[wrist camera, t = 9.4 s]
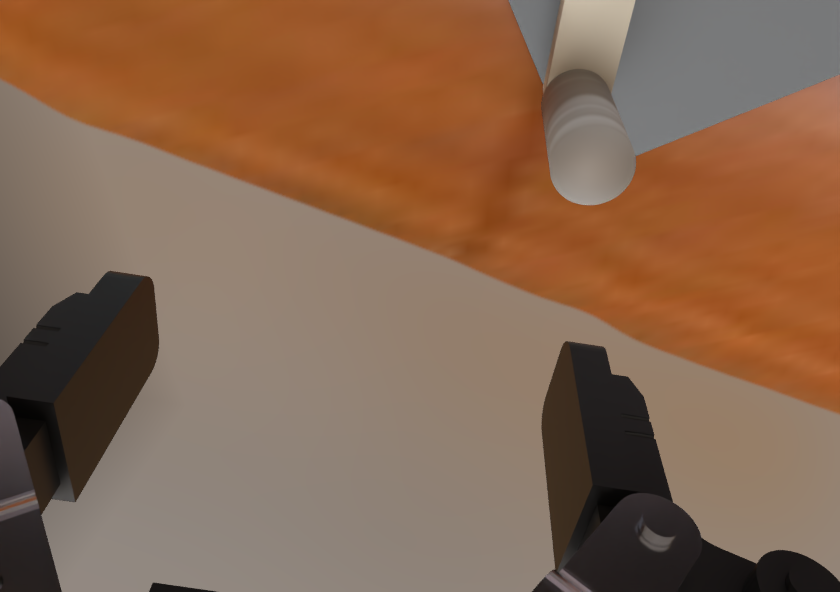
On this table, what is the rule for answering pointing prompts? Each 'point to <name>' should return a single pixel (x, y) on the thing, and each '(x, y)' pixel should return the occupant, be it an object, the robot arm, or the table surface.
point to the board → (703, 59)
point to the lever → (587, 102)
